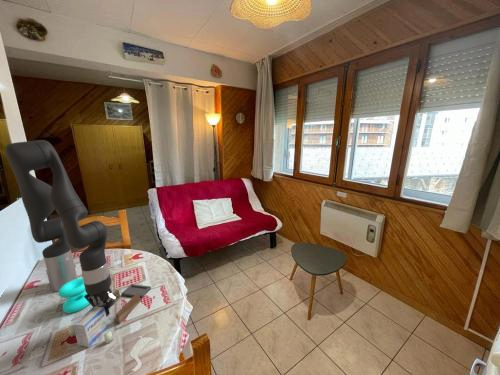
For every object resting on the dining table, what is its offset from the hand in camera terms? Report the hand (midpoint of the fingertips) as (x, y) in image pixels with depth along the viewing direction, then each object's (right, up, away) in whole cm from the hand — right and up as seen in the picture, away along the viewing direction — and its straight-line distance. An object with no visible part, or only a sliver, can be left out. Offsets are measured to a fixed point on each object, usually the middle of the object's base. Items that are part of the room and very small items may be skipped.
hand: (105, 316), depth 75 cm
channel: (+1, -1, +6) cm, 6 cm away
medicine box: (0, -4, -5) cm, 6 cm away
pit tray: (+3, +1, +16) cm, 16 cm away
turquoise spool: (-18, -1, +9) cm, 20 cm away
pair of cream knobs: (-1, -4, -6) cm, 7 cm away
